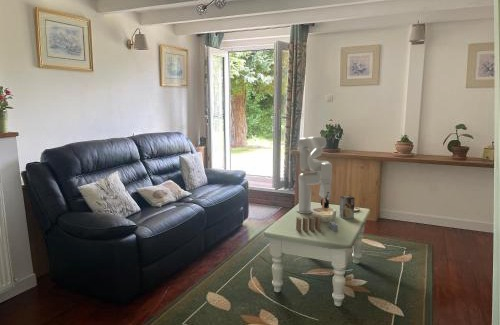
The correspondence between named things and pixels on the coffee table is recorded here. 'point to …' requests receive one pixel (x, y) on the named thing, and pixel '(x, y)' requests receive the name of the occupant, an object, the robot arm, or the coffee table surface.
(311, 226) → the domino
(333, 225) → the stop block
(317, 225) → the domino
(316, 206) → the coffee table surface
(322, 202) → the domino
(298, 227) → the domino
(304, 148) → the robot arm
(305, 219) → the domino
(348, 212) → the coffee box
